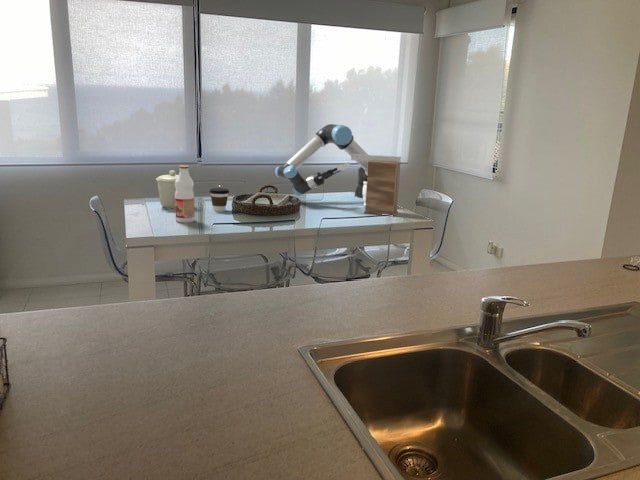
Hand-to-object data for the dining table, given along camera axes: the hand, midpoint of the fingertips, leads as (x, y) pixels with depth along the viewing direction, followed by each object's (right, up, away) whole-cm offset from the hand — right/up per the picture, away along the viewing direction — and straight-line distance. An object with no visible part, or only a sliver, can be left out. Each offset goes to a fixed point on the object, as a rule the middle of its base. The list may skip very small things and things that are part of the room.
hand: (345, 165), depth 312 cm
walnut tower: (+20, -28, -1) cm, 35 cm away
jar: (+16, -23, +21) cm, 35 cm away
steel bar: (+17, +1, -7) cm, 18 cm away
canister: (-99, -25, -8) cm, 102 cm away
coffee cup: (-72, -28, -12) cm, 78 cm away
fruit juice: (-84, -35, -41) cm, 100 cm away
